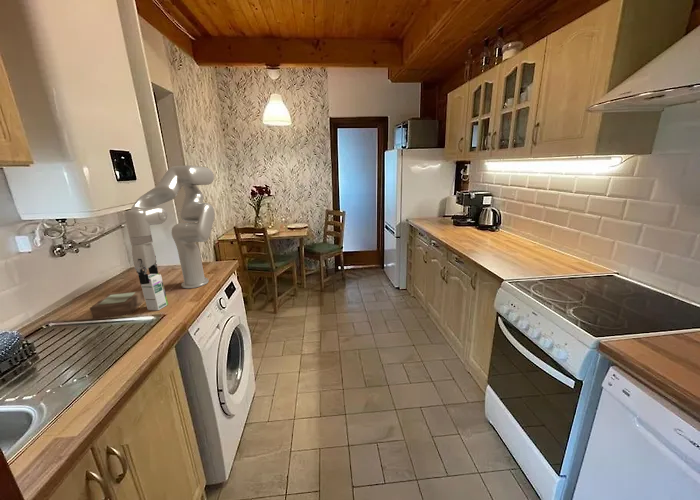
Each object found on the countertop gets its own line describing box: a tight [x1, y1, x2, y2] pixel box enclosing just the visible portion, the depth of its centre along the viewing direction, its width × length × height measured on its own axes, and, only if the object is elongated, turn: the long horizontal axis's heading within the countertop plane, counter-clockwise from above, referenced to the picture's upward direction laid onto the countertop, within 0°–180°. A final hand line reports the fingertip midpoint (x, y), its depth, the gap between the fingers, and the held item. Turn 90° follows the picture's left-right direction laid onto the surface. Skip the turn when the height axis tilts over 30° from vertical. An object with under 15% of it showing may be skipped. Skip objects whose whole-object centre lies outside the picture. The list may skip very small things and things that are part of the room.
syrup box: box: [140, 273, 169, 311], centre depth 136 cm, size 6×6×14 cm
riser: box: [89, 290, 145, 320], centre depth 137 cm, size 14×14×5 cm
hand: (150, 279), depth 134 cm, fingers open, 9 cm apart
